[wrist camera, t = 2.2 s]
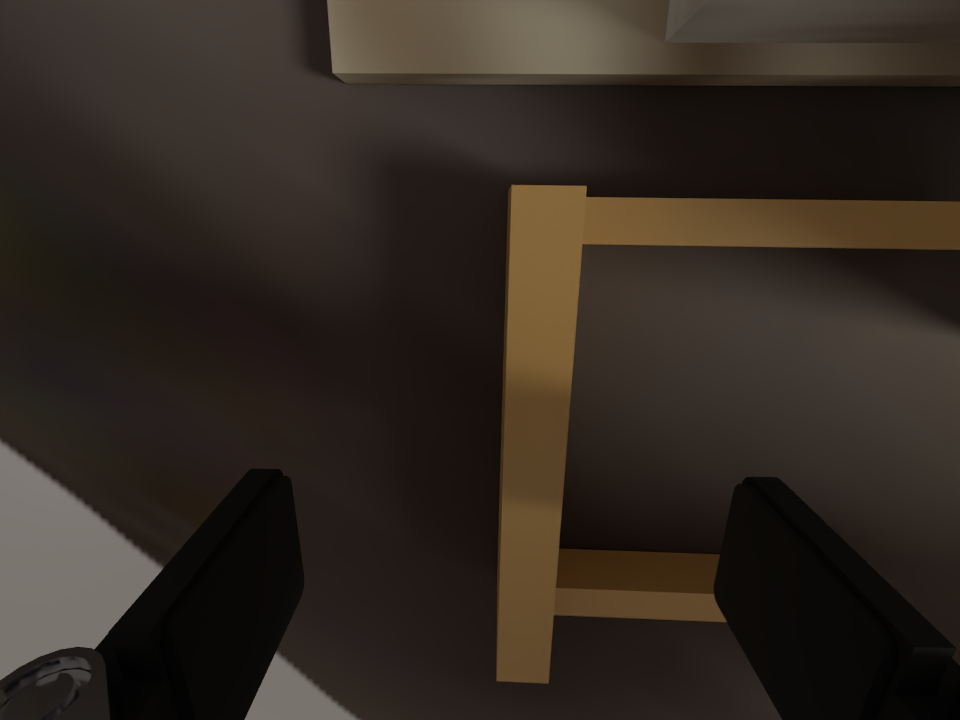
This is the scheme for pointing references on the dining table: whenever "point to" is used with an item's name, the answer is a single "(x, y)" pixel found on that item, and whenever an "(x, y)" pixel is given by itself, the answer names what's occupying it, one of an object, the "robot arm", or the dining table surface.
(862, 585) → the robot arm
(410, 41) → the white block cluster
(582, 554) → the tan u-shaped bracket
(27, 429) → the dining table surface
